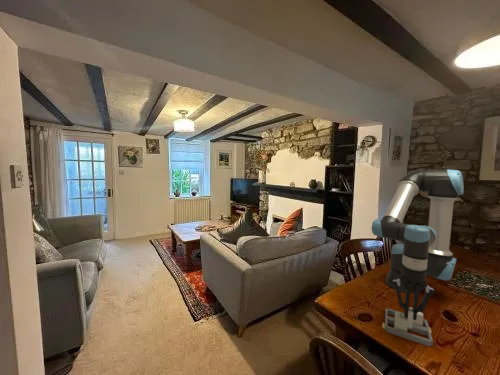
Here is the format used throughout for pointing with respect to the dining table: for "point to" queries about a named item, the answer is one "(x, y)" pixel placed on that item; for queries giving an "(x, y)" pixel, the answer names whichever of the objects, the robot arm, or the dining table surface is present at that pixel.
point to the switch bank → (415, 328)
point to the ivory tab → (418, 319)
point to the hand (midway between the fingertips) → (409, 325)
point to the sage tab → (400, 322)
